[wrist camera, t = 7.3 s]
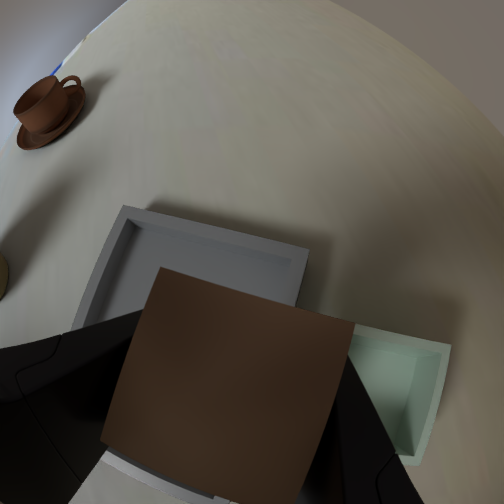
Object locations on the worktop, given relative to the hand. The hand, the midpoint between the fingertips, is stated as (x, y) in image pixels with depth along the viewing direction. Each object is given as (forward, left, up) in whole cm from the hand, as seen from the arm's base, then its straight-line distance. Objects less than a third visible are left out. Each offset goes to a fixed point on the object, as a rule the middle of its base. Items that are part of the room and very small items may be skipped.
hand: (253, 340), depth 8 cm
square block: (-1, -1, -7) cm, 7 cm away
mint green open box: (+5, -5, -13) cm, 15 cm away
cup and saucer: (-19, +36, -14) cm, 43 cm away
